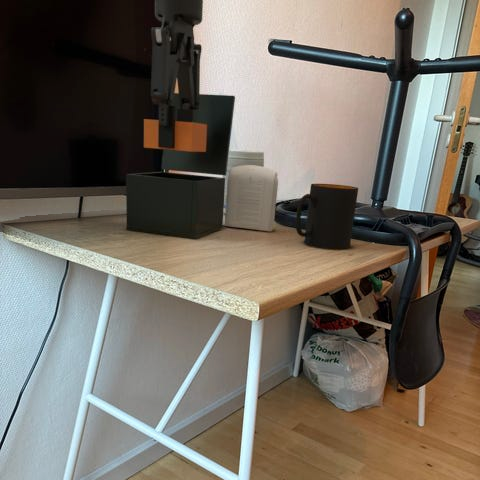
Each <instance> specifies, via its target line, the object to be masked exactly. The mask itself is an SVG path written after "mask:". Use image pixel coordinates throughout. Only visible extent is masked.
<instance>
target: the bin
mask: <svg viewBox="0 0 480 480" xmlns="http://www.w3.org/2000/svg"><path fill="white" fill-rule="evenodd" d="M125 186H126V187H125V194H126V195H125V197H126V198H125V203H126V206H125V207H126V212H125V213H126V230H127V231H131V232H139V233H147V234H154V235H162V236H168V237H175V238H181V239H182V238H183V239H189V240H190V239H191V240H197V239H199V238H202V237H204V236H207V235H210V234H212V233H215V232H217V231H220V230H222V229H223V227H224V226H223V224H224V213H223V210H224V192H225V178H223V177H220V176H211V175H199V174H191V173H179V172H168V171H152V172H139V173H125Z"/></svg>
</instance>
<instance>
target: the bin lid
mask: <svg viewBox="0 0 480 480" xmlns="http://www.w3.org/2000/svg"><path fill="white" fill-rule="evenodd" d="M235 103H236V96H235V95H230V94H229V95H227V94H226V95H225V94H208V93H207V94H206V93H204V94H203V93H199V109H198V110H193V123H200V124H207V138H206V152H191V151H179V150H167V149H162V158H161V169H160V170H163V171H172V172H173V171H174V172H182V173H193V174H205V175H212V176H213V175H214V176H223V175H224V176H226V173H227V164H228V155H229V150H230V146H231V138H232V137H231V136H232V127H233V121H234V120H233V119H234V112H235ZM170 106H176V116H175V121H177V109H181V108H180V102H179V92H175V93H174V99H173V104H172V105H170Z"/></svg>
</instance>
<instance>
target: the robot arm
mask: <svg viewBox="0 0 480 480" xmlns="http://www.w3.org/2000/svg"><path fill="white" fill-rule="evenodd" d="M203 6H204V0H154V17H155V19H157V21H159V22H160V23H161V26H160V27H154V26H153V27H151V28H150V29H151V30H150V35H151V43H152V48H151V49H152V50H151V52H152V53H151V79H150V98H151V102H152V104H153V105H158V120H159V125H158V147H162V148H175V116H176V106H170V105H172V104H173V99H174V93H176V87H177V90H178V91H177V93H179V102H180V108H181V109H177V121H179V122H193V110H198V109H199V94H201V93H200V88H201V87H200V85H201V81H200V80H201V56H202V45H201V44H200V43H195V33H194V27H196V26H198V25H200V24H201V23H202V22H203V8H204V7H203Z"/></svg>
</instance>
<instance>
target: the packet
mask: <svg viewBox="0 0 480 480" xmlns="http://www.w3.org/2000/svg"><path fill="white" fill-rule="evenodd" d="M158 125H159V119H147V118H144V119H143V148H145V149H156V150H157V149H158V150H163V149H167V150H179V151H191V152H206V138H207V124H200V123H193V122H179V121H175V148H162V147H158Z"/></svg>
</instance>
